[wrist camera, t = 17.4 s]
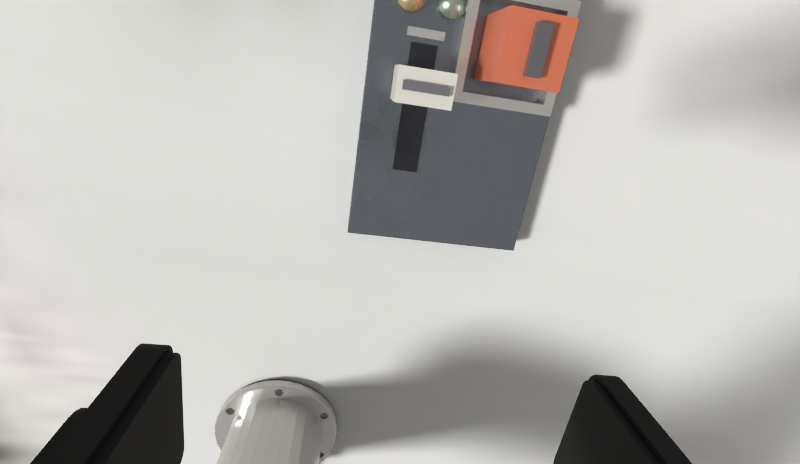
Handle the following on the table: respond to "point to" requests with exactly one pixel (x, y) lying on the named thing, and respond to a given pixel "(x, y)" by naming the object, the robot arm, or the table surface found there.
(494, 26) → the cap
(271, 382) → the robot arm
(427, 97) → the block
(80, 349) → the table surface
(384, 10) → the panel
